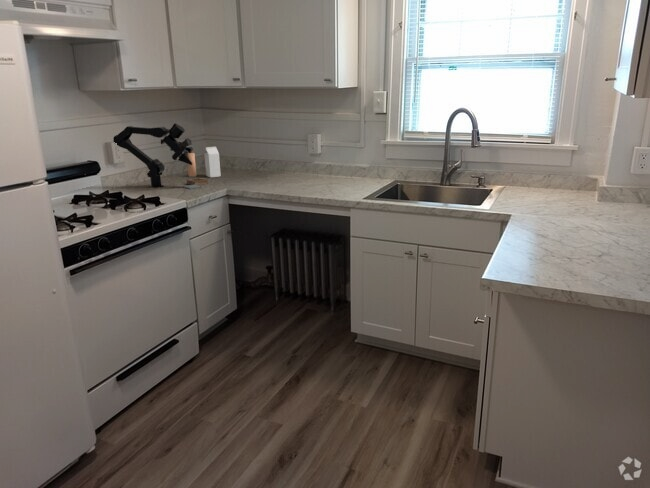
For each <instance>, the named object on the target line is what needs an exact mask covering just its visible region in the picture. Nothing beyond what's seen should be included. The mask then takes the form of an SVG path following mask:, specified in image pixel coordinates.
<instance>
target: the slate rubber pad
mask: <svg viewBox="0 0 650 488" xmlns="http://www.w3.org/2000/svg"><path fill="white" fill-rule="evenodd" d="M201 186H202V185H190V184H187V185H184V186H183V188H184V189H187V188H188V190H192V189H193V190H194V189H200V188H201Z"/></svg>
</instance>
